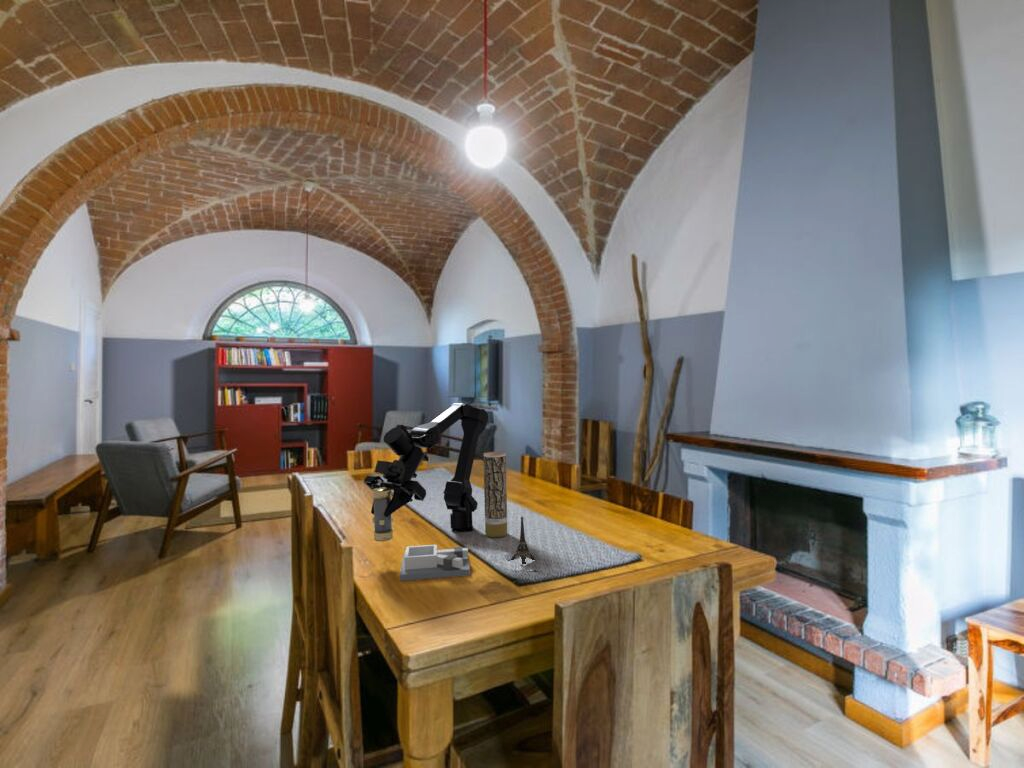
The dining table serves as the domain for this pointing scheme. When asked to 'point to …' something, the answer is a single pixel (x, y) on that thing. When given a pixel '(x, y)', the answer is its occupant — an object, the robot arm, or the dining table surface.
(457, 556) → the shaft stand
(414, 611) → the dining table surface
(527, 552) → the eiffel tower figurine
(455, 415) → the robot arm
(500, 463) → the brown textured cylinder
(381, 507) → the coupling
